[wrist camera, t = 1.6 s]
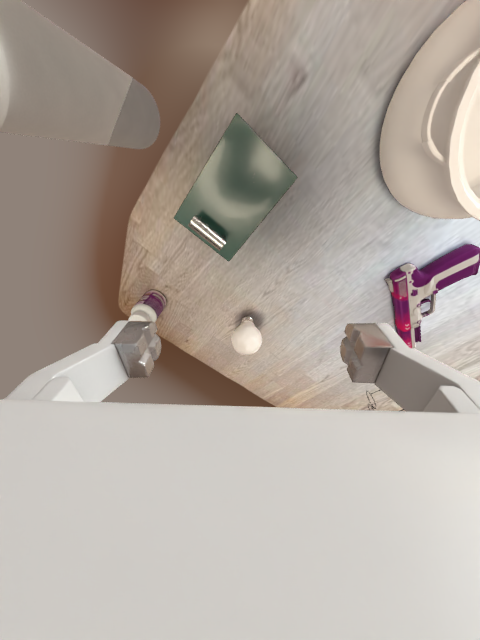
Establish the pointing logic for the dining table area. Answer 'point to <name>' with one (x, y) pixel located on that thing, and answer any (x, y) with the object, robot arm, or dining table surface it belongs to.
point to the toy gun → (427, 287)
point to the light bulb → (246, 337)
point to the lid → (234, 190)
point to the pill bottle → (148, 307)
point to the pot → (438, 123)
